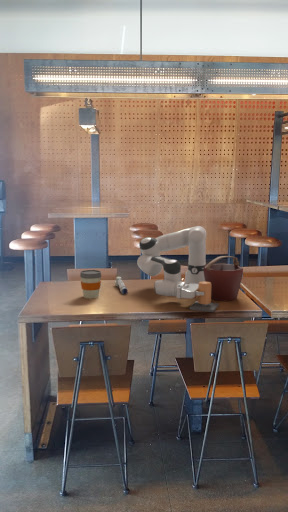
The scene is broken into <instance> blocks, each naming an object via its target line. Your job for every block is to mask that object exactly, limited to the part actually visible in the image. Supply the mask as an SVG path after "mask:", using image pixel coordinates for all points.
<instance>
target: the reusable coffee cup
mask: <svg viewBox="0 0 288 512" xmlns="http://www.w3.org/2000/svg"><path fill="white" fill-rule="evenodd" d="M79 277H80V286H81V290H82V295H83V298H84V299H96V298H99V297H100V295H99V294H100V289H101V283H102V280H101V277H102V272H101V270H98V269H97V270H96V269H86V270H80V275H79Z"/></svg>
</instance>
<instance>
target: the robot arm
mask: <svg viewBox="0 0 288 512" xmlns="http://www.w3.org/2000/svg"><path fill="white" fill-rule="evenodd" d="M206 240H207V231H206V229H205V227H203V226H200V225H196V226H193V227H188V228H184V229H182V230H178V231H175V232H170V233H165V234H163V235H162V234H161V235H159V236H157V237H150V236H148V237H143V238H142V239H141V240H140V241H139V244H138V245H139V249H140V252H141V254H142V255H140V256H139V257H138V258H137V262H136V263H137V266H138V268H139V269H140V270H141V271H142V272H143V273H145V274H146V275H147V276H149V277H156V276H158V275H159V274H160V273H161V272H162V270H163V277H164V279H160V280H159V279H157V280H155V281H154V285H153V287H154V292H155V295H160V296H164V297H172V296H173V297H175V298H176V299H178V300H180V299H194V298H195V297H196V296H197V297H198V295H205V292H203V291H202V292H198V284H199V282H205V277H204V267H205V266H206V265H207V263H206V261H207V260H206V255H207V252H206V250H207V249H206V247H207V245H206ZM185 247H188V264H187V270H186V272H185V277H184V281H182V273H181V272H182V271H181V270H182V268H181V267H182V266H181V265H182V264H181V263H180V262H179V261H178V260H177V259H173V258H172V259H171V258H168V257H164V256H161V253H162V252H168V251H173V250H174V251H175V250H177V249H182V248H185Z"/></svg>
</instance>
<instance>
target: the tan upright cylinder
mask: <svg viewBox="0 0 288 512" xmlns="http://www.w3.org/2000/svg"><path fill="white" fill-rule="evenodd" d="M202 291H203V292H205V295H198V296H197V301H198V303H200V304H210V303H212V299H211V283H210V282H199V284H198V292H202Z"/></svg>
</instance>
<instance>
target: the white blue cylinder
mask: <svg viewBox="0 0 288 512" xmlns="http://www.w3.org/2000/svg"><path fill="white" fill-rule="evenodd" d="M114 284H115V285H114V286H115V287H117V288H119V289H120V290H119V291H120V293H121V294H122V295H127V294H128V292H129V291H128V287H127V286H126V285H125V283H124V281H123V280H122V277H121V276H116V277H115V281H114Z"/></svg>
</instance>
